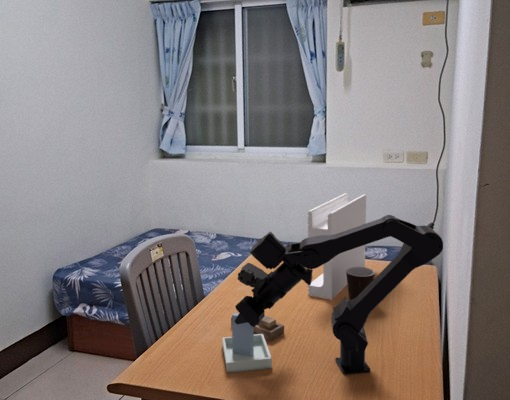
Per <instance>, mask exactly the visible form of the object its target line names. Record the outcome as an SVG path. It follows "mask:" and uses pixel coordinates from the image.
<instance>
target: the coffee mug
mask: <svg viewBox="0 0 510 400" xmlns="http://www.w3.org/2000/svg"><path fill="white" fill-rule="evenodd" d="M346 275H347V285H346V286H347V293H348V301H349V300H352V299H354V298H356V297H357V296H358V295H359V294H360V293H361V292H362V291H363V290H364V289H365V288H366V287H367V286H368V285H369V284H370V283H371V282H372V281H373V280H374V279H375V275H376V273H375V270H373V269H371V268H369V267H366V266H365V267H352V268H349V269H347V270H346Z"/></svg>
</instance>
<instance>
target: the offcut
mask: <svg viewBox="0 0 510 400" xmlns="http://www.w3.org/2000/svg"><path fill="white" fill-rule="evenodd" d="M276 323H277V319H276V318H272V317H270V316H267V315H265V316H264V318H263V319H262V320H261V321H260V322H259V326H261V327H264V328H266V329H269V330H272V329H273V328H275V327H276Z"/></svg>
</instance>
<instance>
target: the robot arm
mask: <svg viewBox="0 0 510 400" xmlns="http://www.w3.org/2000/svg"><path fill="white" fill-rule="evenodd" d="M390 237H391V238H393V239H395V240H397V241H400V242H401V243H402V245H401V248H400V250H399V253H398V254H397V255H396V256H395V257H394V258H393V259H392V260H391V261H390V262H389V263H388V264H387V265H386V267H385V268H383V269H382V270H381V272H379V274H378V275H376V277H374V280H373V281H372V282H371V283H370V284H369V285H368V286H367V287H366V288H365V289H364V290H363V291H362V292H361V293H360V294H359V295H358V296H357V297H356V298H354V299H352V300H349V299H348V298H347V297H345V296H344V297H343V298H341V300H340V302H339V303H338V304H337V305H335V306H333V307H332V308H333V309H332V310H333V311H332V313H331V317H330V318H331V319H330V320H331V328H332V333H333V336H334V337H335V338H336V339H337V340H338V341H339V343H340V344H339V345H340V347H339V350H340V351H339V353H340V354H339V355H340V357H336V358H335V362H336V363H337V366H338V367H339V369H340V370H341V372H342V374H344V375H349V374H357V373H358V374H360V373H366V372H367V373H368V372H371V368H370V366H369V365H368V363H367V362H366V349H367V347H368V345H369V341H368V338H367V334H366V331H365V330H366V329H365V324H366V322H367V320H368V318H369V316H370V313H372V312H373V311H374V310H375V309H376V307H378V306H379V304H380V303H381V302H382V301H384V299H385V298H387V296H389V294H391V292H392V291H393V290H394V289H395V288H397V286H399V285H400V284H401V283H402V281H404V279H406V277H407V276H409V274H410V273H412V272H413V271H414V270H415V269H417V268H420V267H421V266H422V267H423V266H424V265H427V264H428V263H430V262H432V260H434V259H435V258H437V257H438V256H439V255H441V253H442V252H443V249H444V242H443V241H444V240H443V239H442V237H441V236H440V235H439V234H438V233H437V232H436V231H435V230H434V229H433V228H432V227H431V226H428V225H415V224H413V223H411V222H409V221H405V220H403V219H400V218H397V217H396V216H395V215H392V214H387V215H385V216H383V217H381V218H378V219H376V220H373V221H369V222H366V224H363V225H360V226H358V227H355V228H352V229H349V230H346V231H343V232H340V233H338V234H334V235H321V236H315V237H309V238H308V237H306V238H304V239H302V240H301V241H300V242H293V243H287V244H285V245H284V243H282V242H281V241H280V240H279V239H278V238H277V237H276V236H275V234H274V233H273V232H272V231H268V233H267V234H265V235H264V236H263V237H261V238H259V239H258V240H257V241H256V242H255V243H254V245H253V246H252V247H251V248H250V250H249V254H250V255H251V256H252V257H253V258H254V259H255V260H257V262H259V264H261V265H262V266H263V267H264V268H265V269H266V270H273V271H270V272H269V273H267V272H265V271H264V270H263V269H261V268H259V266H257V265H255V264H253V263H250V262H247V263H246V264H244V265H243V266H242V267H241V269H240V272H238V273H237V281H239V282H240V283H242V284H243V285H245V286H249V287H251V288H252V289H251V291H250V292H252V296H251V295H250V296H249V295H245V296H244V297H243V298H242V299H241V300H240V301H239V302H238V303H237V304H236V305H235V310H236V311H237V313H239V315H238V316H237V318H236V319H235V321H234V322H235V323H236V324H242V323H247V322H248V323H249V324H250V325H251V326H252V327H255V326H256V325H257V324H258V323H259V322H260V321H261V320H262V319H263V318H264V316H266V315H265V313H266V311H265V310H267V309H269V310H271V308H273V307H274V305H275V304H277V302H278V301H280V300H281V299H283V298H284V297H285V296H286V295H287V294H288V293H289V292H290V291H291V290H292V289H293V288H294V287H296V285H298V284H299V283H300V282H302V281H303V283H305V284H306V285H307V286H308V285H311V282H313V271H314V270H315V269H317V268H320V267H321V266H323V264H325V263H327V262H329V261H330V260H331V259H333V258H334V257H335V256H337V255H338V254H340V253H343V252H345V251H348V250H351V249H354V248H357V247H360V246H363V245H365V246H366V245H369V244H371V243H375V242H377V241H380V240H383V239H386V238H390Z"/></svg>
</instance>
